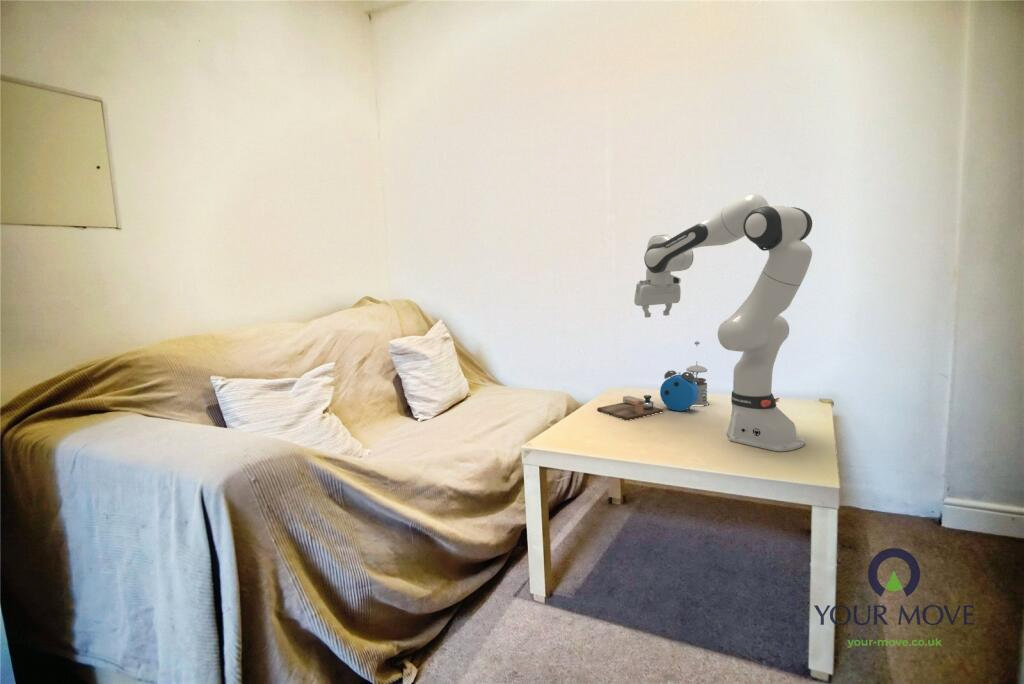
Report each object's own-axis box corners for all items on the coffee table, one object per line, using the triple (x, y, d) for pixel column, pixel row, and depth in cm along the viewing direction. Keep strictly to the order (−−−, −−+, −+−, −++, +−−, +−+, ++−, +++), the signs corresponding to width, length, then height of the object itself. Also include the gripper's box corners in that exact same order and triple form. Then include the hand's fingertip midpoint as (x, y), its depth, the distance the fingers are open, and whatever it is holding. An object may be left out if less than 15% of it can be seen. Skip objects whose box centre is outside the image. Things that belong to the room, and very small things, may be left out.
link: (656, 407, 201) (656, 396, 200) (647, 409, 199) (647, 398, 198) (629, 400, 213) (629, 389, 212) (621, 401, 211) (621, 391, 210)
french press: (684, 406, 207) (685, 343, 204) (681, 398, 218) (682, 338, 215) (711, 406, 205) (712, 342, 201) (707, 399, 216) (708, 338, 213)
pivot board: (662, 412, 200) (663, 409, 199) (627, 420, 191) (627, 417, 190) (632, 403, 214) (632, 400, 214) (597, 410, 205) (597, 407, 205)
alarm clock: (698, 410, 201) (699, 371, 199) (693, 414, 196) (693, 374, 194) (665, 405, 209) (665, 368, 207) (659, 409, 204) (659, 371, 202)
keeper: (644, 412, 196) (644, 401, 195) (638, 414, 194) (638, 402, 193) (631, 409, 201) (631, 397, 201) (625, 410, 200) (625, 399, 199)
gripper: (642, 281, 190) (641, 319, 192) (684, 278, 199) (682, 315, 202) (630, 280, 195) (630, 317, 198) (671, 278, 205) (670, 313, 207)
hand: (657, 316), depth 200 cm, fingers open, 8 cm apart
